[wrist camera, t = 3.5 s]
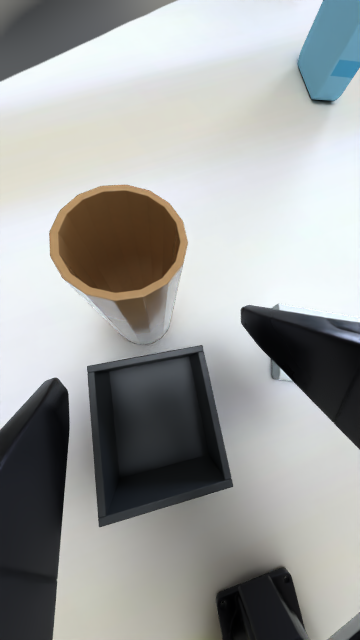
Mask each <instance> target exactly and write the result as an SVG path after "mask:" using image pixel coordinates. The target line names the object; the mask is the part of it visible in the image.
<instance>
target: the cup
mask: <svg viewBox="0 0 360 640" xmlns="http://www.w3.org/2000/svg"><path fill="white" fill-rule="evenodd" d="M49 236H50V256H51V259H52V260H53V262H54V264H55V266H56V267H57V269H58V271H59V273H60V274H61V276H62V278H63V279H64V280H65V281H66V282H67V283H68V284H69V285H70V286H71V287H72V288H73V289H74V290H75V291H76V292H77V293H78V294H79V295H81V296H82V297H83V298H84V299H85V300H86V301H87V302H88V303H89V304H90V305H91V306H92V307H93V308H94V309H95V310H96V311H97V312H98V313H99V314H100V315H101V316H102V317H103V318H104V319H105V320H106V321H107V322H108V323H109V324H110V325H112V326H113V327H114V328H115V329H116V330H117V331H118V332H119V333H120V334H121V335H122V336H123V337H125V338H126V339H127V340H129V341H131V342H133V343H137V344H149V343H152V342H155V341H157V340H158V339H160V338H161V337H162V336H163V335H164V334H165V333H166V331H167V330H168V328H169V325H170V321H171V316H172V312H173V307H174V303H175V298H176V294H177V289H178V285H179V281H180V276H181V272H182V267H183V263H184V258H185V254H186V249H187V245H188V241H187V236H186V232H185V228H184V223H183V221H182V219H181V218H180V217H179V215H178V214H177V213H176V211H175V210H174V209H173V207H172V206H171V205H170V204H169V203H168V202H167V201H165V200H164V199H162V198H161V197H159V196H157V195H156V194H154V193H153V192H151V191H149V190H145V189H141V188H137V187H134V186H130V185H109V186H102V187H101V186H100V187H97V188H94V189H92V190H89V191H87V192H84V193H81V194H79V195H77V196H76V197H75V198H74V199H72V200H71V201H70V202H69V203H68V204H67V205H66V206H64V207H63V208H62V209H61V210H60V211H59V213H58V215H57V217H56V219H55V221H54V223H53V225H52V228H51V230H50V233H49Z"/></svg>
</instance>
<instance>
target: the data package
mask: <svg viewBox="0 0 360 640" xmlns="http://www.w3.org/2000/svg"><path fill="white" fill-rule="evenodd" d="M298 66H299V69H300V71H301V74H302V76H303V79H304V82H305V84H306V87H307V89H308V92H309V94H310V97H311V98H312V99H317V100H329V101H335V100H337V99H338V98H339V97H340V96H341V95H342V93H343V92H344V90H345V89H346V87H347V86H348V84H349V83H350V81H351V80H352V78H353V77H354V75H355V74H356V72H357V71H358V69H359V68H360V0H323V2H322V4H321V7H320V9H319V11H318V13H317V16H316V18H315V20H314V22H313V25H312V27H311V29H310V31H309V34H308V36H307V38H306V40H305V43H304V45H303V47H302V50H301V52H300V56H299V60H298Z"/></svg>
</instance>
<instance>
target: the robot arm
mask: <svg viewBox="0 0 360 640" xmlns="http://www.w3.org/2000/svg"><path fill="white" fill-rule="evenodd" d="M241 323H242V325H243V327H244V328H245V329H246V330H247V332H248V333H249V334H250V336H251V337H252V338H253V339H254V341H255V342H256V343H257V344H258V346H259V347H260V348H261V349H262V350H263V351H264V352H265V353H266V354H267V355H268V356H269V357H270V358H271V359H272V360H273V361H274V362H275V363H276V364H277V365H278V366H279V367H280V368H281V369H282V370H283V371H284V372H285V373H286V375H287V376H288V377H289V378H290V379H291V380H292V381H293V382H294V383H295V384H296V385H297V386H298V387H299V388H300V389H301V390H302V391H303V392H304V393H305V394H306V395H307V396H308V397H309V398H310V399H311V400H312V401H313V402H314V403H315V404H316V405H317V406H318V407H319V408H320V409H321V410H322V411H323V412H324V413H325V414H326V415H327V416H328V418H329V419H330V420H331V421H332V422H334V424H335V425H336V426H337V427H338V428H339V429H340V430H341V431H342V432H343V433H344V434H345V435H346V436H347V437H348V438H349V439H350V440H351V441H352V442H353V443H354V444H355V445H356V446H357V447H358V448H359V449H360V322H354V321H347V320H340V319H333V318H325V317H321V316H314V315H308V314H302V313H296V312H289V311H283V310H277V309H271V308H265V307H258V306H252V305H247V306H244V307H242V308H241ZM68 442H69V399H68V391H67V389H66V388H65V387H64V385H63V384H62V383H61V382H60V380H59V379H58V378H52V379H50V380H47V381H45V382H44V383H43V384H42V385H41V386H40V387H39V388H38V390H37V391H36V392H35V393H34V394H33V395H32V396H31V397H30V398H29V399H28V400H27V402H26V403H25V404H24V405H23V406H22V407H21V408H20V409H19V410H18V411H17V412H16V414H15V415H14V416H13V417H12V418H11V419H10V420H9V421H8V422H7V423H6V424H5V426H4V427H3V428H2V429H1V430H0V640H52V639H53V627H54V615H55V603H56V590H57V576H58V564H59V551H60V539H61V527H62V515H63V503H64V490H65V478H66V466H67V454H68ZM285 576H286V578H285V579H284V577H285ZM222 601H225V602H224V603H223V604H221V602H222ZM216 605H217V611H218V617H219V622H220V628H221V633H222V639H223V640H310V639H309V637H308V635H307V633H306V631H305V627H304V624H303V620H302V616H301V612H300V608H299V604H298V600H297V596H296V592H295V588H294V585H293V581H292V577H291V575H290V573H289V572H288V570H287V569H286V568H280V569H277V570H275V571H272V572H270V573H267V574H264V575H262V576H259V577H257V578H254V579H252V580H249V581H246V582H244V583H241V584H239V585H236V586H233V587H231V588H228V589H226V590H223V591H221V592H219V593H218V594H217V596H216ZM327 640H360V612H359V613H358V614H357V615H356V616H355V617H354V618H352V619H351V620H350V621H349V622H348V623H346V624H345V625H344V626H343V627H342V628H340V629H339V630H338V631H337V632H336V633H334V634H333V635H332V636H331V637H330V638H329V639H327Z"/></svg>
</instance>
